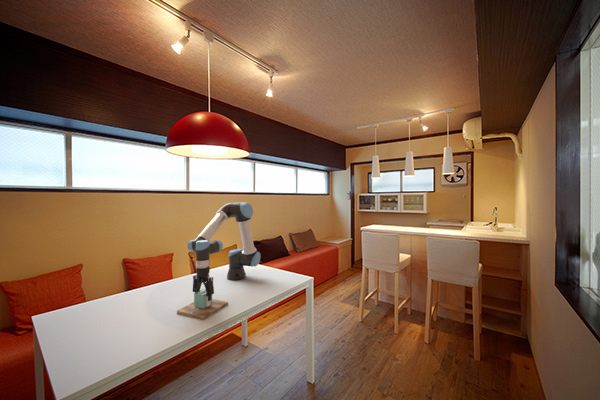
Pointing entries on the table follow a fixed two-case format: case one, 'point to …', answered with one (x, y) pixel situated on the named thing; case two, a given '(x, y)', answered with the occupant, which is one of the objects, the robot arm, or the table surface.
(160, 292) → the table surface
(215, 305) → the wooden peg board
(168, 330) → the table surface
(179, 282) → the table surface
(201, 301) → the teal rectangular block
